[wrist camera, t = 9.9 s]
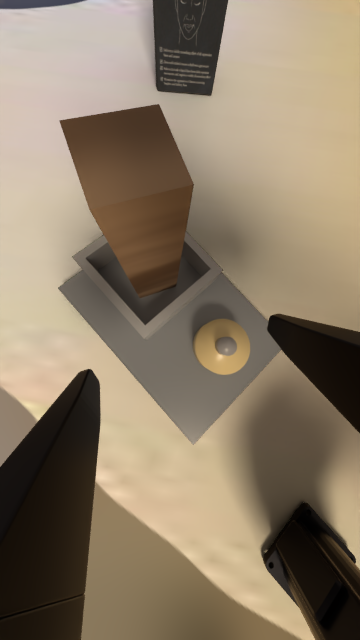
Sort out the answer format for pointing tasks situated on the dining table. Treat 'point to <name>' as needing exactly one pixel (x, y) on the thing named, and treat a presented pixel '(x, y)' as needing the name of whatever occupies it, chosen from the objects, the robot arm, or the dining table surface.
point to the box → (187, 43)
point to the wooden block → (134, 190)
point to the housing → (176, 332)
